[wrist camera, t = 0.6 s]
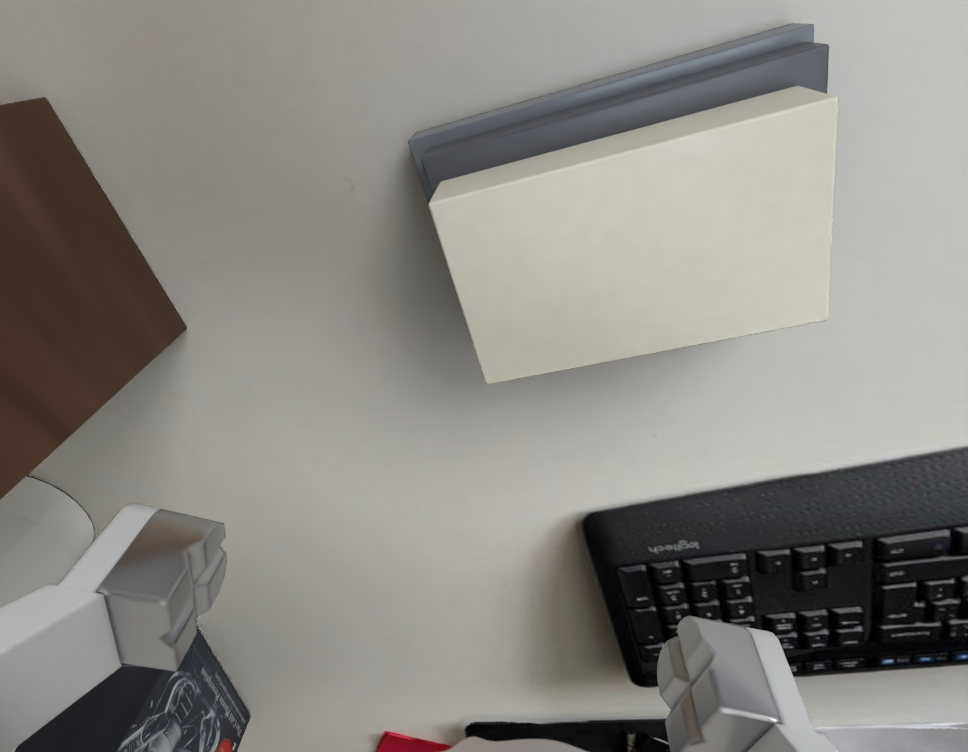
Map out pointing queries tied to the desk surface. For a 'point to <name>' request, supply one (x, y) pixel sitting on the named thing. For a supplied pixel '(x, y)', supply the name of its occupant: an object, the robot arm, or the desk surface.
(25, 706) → the robot arm
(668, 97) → the grey books
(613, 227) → the ivory book
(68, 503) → the cup
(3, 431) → the walnut shelf
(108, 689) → the small box
